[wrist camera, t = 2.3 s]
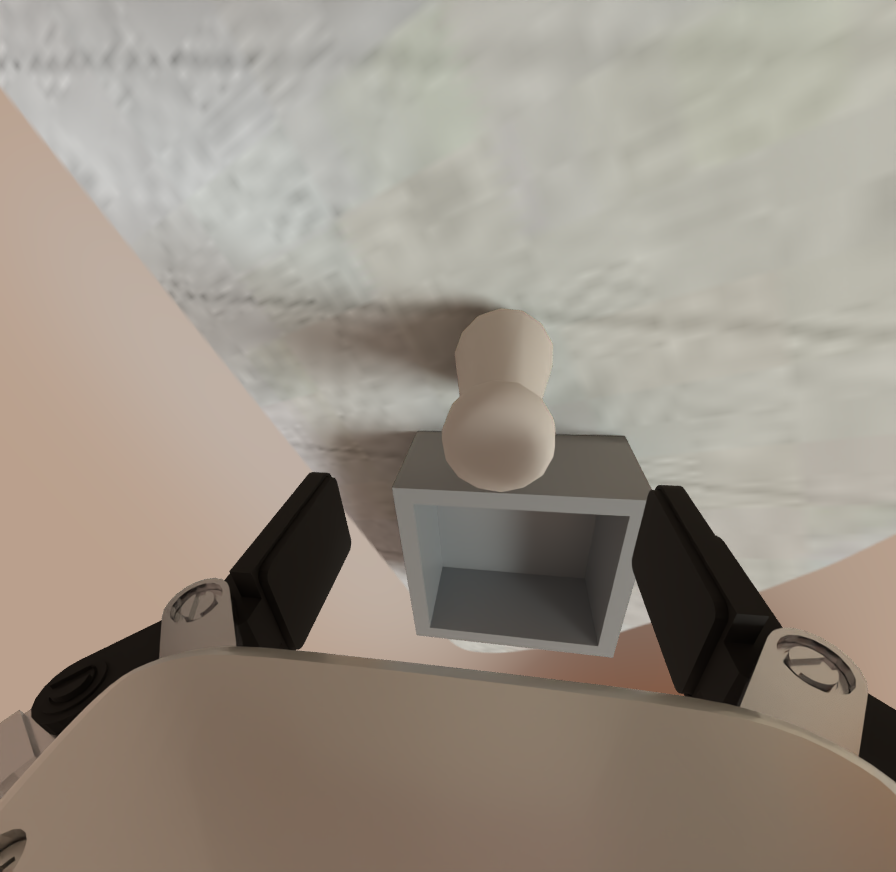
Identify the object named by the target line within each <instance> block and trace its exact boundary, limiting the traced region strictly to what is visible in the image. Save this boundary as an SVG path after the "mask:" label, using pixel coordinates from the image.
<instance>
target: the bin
mask: <svg viewBox="0 0 896 872" xmlns="http://www.w3.org/2000/svg"><path fill="white" fill-rule="evenodd" d="M650 490H652V489H651V487H650V485H649V483H648V481H647V479H646V477H645V475H644V473H643V471H642V469H641V467H640V465H639V463H638V461H637V459H636V457H635V455H634V453H633V451H632V449H631V447H630V445H629V443H628V441H627V439H626V437H625V436H594V435H555V449H554V455H553V458H552V460H551V462H550V463H549V465H548V467H547V469H546V470H545V472H544V474H543V475H542V476H541V477H539V478H538V479H536V480H535V481H533V482H532V483H530V484H528V485H527V486H525V487H524V488H519V489H514V490H509V491H504V492H497V491H491V490H485V489H480V488H477V487H475V486H473V485H471V484H470V483H468V482H466V481H464V480H463V479H461V478H459V477H458V476H457V475H456V473H455V472H454V471H453V469H452V468H451V466H450V465H449V464H448V462H447V461H446V459H445V453H444V448H443V442H442V432H429V431H417V433H416V435H415V438H414V440H413V442H412V444H411V447H410V449H409V451H408V453H407V455H406V458H405V460H404V462H403V464H402V467H401V469H400V471H399V473H398V475H397V478H396V480H395V482H394V484H393V487H392V491H393V497H394V503H395V509H396V515H397V521H398V527H399V533H400V539H401V545H402V550H403V556H404V562H405V568H406V574H407V580H408V586H409V592H410V598H411V604H412V610H413V615H414V622H415V627H416V634H417V635H420V636H429V637H438V638H446V639H455V640H464V641H473V642H481V643H490V644H499V645H507V646H516V647H525V648H534V649H543V650H551V651H560V652H569V653H578V654H586V655H595V656H604V657H613V655H614V652H615V648H616V645H617V641H618V638H619V634H620V631H621V627H622V624H623V620H624V617H625V613H626V610H627V606H628V603H629V599H630V596H631V592H632V589H633V585H634V582H635V576H634V573H633V570H632V556H633V552H634V548H635V544H636V540H637V536H638V532H639V528H640V524H641V520H642V516H643V512H644V508H645V504H646V500H647V496H648V493H649V491H650Z"/></svg>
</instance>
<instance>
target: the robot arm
mask: <svg viewBox="0 0 896 872" xmlns="http://www.w3.org/2000/svg"><path fill="white" fill-rule="evenodd" d="M350 548H351V538H350V534H349V530H348V526H347V521H346V517H345V513H344V509H343V505H342V501H341V497H340V492H339V488H338V484H337V481H336V479H335V478H332V476H331V475H330V474H329V473H319V472H311V473H309V474H308V475H307V477H306V478H305V479H304V480H303V482H302V483H301V484H300V485H299V486H298V488H297V489H296V490H295V491H294V493H293V494H292V495H291V496H290V497H289V499H288V500H287V501H286V502H285V504H284V505H283V506H282V507H281V509H280V510H279V511H278V512H277V513H276V515H275V516H274V517H273V518H272V520H271V521H270V522H269V523H268V525H267V526H266V527H265V528H264V529H263V531H262V532H261V533H260V535H259V536H258V537H257V538H256V539H255V541H254V542H253V543H252V544H251V546H250V547H249V548H248V549H247V550H246V552H245V553H244V554H243V556H242V557H241V558H240V559H239V560H238V562H237V563H236V564H235V565H234V566H233V568H232V569H231V570H230V574H229V575H228V577H227V578H226V579H225V580H222V579H217V578H210V579H204V580H201V581H198V582H195V583H193V584H191V585H189V586H187V587H186V588H184V589H183V590H182V591H180V592H179V593H177V594H176V595H175V596H174V597H173V598H172V599H171V600H170V602H169V603H168V604H167V606H166V607H165V609H164V612H163V615H162V620H161V621H159V622H157V623H155V624H153V625H151V626H149V627H147V628H145V629H143V630H141V631H139V632H137V633H135V634H132V635H130V636H128V637H126V638H124V639H122V640H120V641H118V642H116V643H114V644H112V645H110V646H108V647H106V648H104V649H102V650H100V651H98V652H96V653H93V654H91V655H89V656H87V657H85V658H83V659H81V660H79V661H77V662H76V663H74V664H72V665H70V666H69V667H67V668H66V669H64V670H63V671H62V672H60V673H59V674H58V675H56V676H55V677H54V678H53V679H52V680H51V681H50V682H49V683H48V684H47V685H46V686H45V687H44V688H43V689H42V691H41V692H40V693H39V695H38V696H37V697H36V699H35V701H34V704H33V706H32V708H31V709H30V710H29V711H28V712H26V713H25V714H24V713H23V712H21V711H20V710H19V711H17V712H15V713H14V714H12V715H11V716H10V717H8V718H7V719H5V720H4V721H2V722H1V723H0V872H896V710H895V709H893V708H891V707H889V706H888V705H886V704H885V703H883V702H882V701H880V700H878V699H876V698H875V697H873V696H871V695H870V694H868V688H867V681H866V680H865V678H864V676H863V674H862V672H861V670H860V669H859V668H858V667H857V666H856V665H855V664H854V662H853V661H852V660H851V659H850V658H849V657H848V656H847V655H845V654H844V653H843V652H842V651H841V650H839V649H838V648H837V647H836V646H834V645H832V644H831V643H829V642H827V641H826V640H824V639H822V638H821V637H818V636H816V635H814V634H811V633H809V632H806V631H802V630H798V629H794V628H783V627H782V626H781V624H780V623H779V622H778V620H777V619H776V617H775V616H774V614H773V613H772V612H771V610H770V608H769V607H768V605H767V604H766V603H765V601H764V600H763V598H762V597H761V595H760V594H759V592H758V591H757V589H756V588H755V586H754V585H753V583H752V582H751V581H750V579H749V578H748V576H747V575H746V573H745V572H744V570H743V569H742V567H741V566H740V564H739V563H738V562H737V560H736V559H735V557H734V556H733V554H732V553H731V551H730V550H729V548H728V547H727V545H726V544H725V542H724V541H723V540H722V539H721V538H720V537H718V536H715V534H714V533H713V531H712V530H711V528H710V527H709V525H708V524H707V522H706V521H705V519H704V518H703V516H702V515H701V513H700V512H699V510H698V509H697V507H696V506H695V504H694V503H693V501H692V500H691V498H690V497H689V495H688V494H687V492H686V491H685V489H684V488H683V487H681V486H669V485H658V486H657V487H656V489H655V490H650V491H649V493H648V496H647V500H646V504H645V508H644V512H643V516H642V520H641V524H640V528H639V532H638V536H637V540H636V544H635V548H634V552H633V556H632V570H633V573H634V576H635V579H636V581H637V584H638V587H639V590H640V592H641V595H642V598H643V601H644V604H645V606H646V609H647V612H648V615H649V617H650V620H651V623H652V625H653V628H654V631H655V634H656V637H657V640H658V642H659V645H660V648H661V651H662V654H663V656H664V659H665V662H666V665H667V667H668V670H669V673H670V676H671V678H672V681H673V684H674V686H675V689H676V690H677V692H678V693H682V694H684V696H679V695H671V694H664V693H657V692H650V691H643V690H635V689H628V688H620V687H612V686H604V685H596V684H588V683H579V682H571V681H562V680H555V679H546V678H538V677H530V676H521V675H513V674H504V673H495V672H487V671H478V670H469V669H461V668H453V667H443V666H435V665H426V664H417V663H408V662H400V661H391V660H382V659H381V660H380V659H372V658H362V657H354V656H345V655H335V654H326V653H317V652H306V651H296V649H300V648H301V647H302V646H303V644H304V642H305V641H306V639H307V637H308V634H309V632H310V630H311V628H312V626H313V624H314V622H315V620H316V618H317V616H318V614H319V612H320V610H321V608H322V606H323V604H324V602H325V600H326V598H327V596H328V594H329V592H330V590H331V588H332V586H333V584H334V582H335V580H336V578H337V576H338V573H339V572H340V570H341V567H342V565H343V563H344V561H345V559H346V557H347V555H348V553H349V551H350Z"/></svg>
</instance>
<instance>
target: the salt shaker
mask: <svg viewBox="0 0 896 872" xmlns="http://www.w3.org/2000/svg"><path fill="white" fill-rule="evenodd" d="M455 361H456V369H457V377H458V386H459V394H460V397H459V398H458V399H457V400H456V401H455V402H454V403H453V404H452V406H451V408H450V410H449V413H448V416H447V418H446V421H445V424H444V426H443V429H442V442H443V448H444V453H445V459H446V461H447V462H448V464H449V465H450V466H451V468H452V469H453V471H454V472H455V473H456V475H457V476H458V477H459V478H461V479H463V480H464V481H466V482H468V483H470V484H471V485H473V486H475V487H477V488H480V489H485V490H491V491H497V492H504V491H509V490H514V489H519V488H524V487H525V486H527V485H528V484H530V483H532V482H533V481H535V480H536V479H538V478H539V477H541V476H542V475H543V474H544V472H545V470H546V469H547V467H548V465H549V463H550V462H551V460H552V458H553V455H554V449H555V423H554V419H553V417H552V415H551V413H550V412H549V410H548V408H547V407H546V405H545V403H544V402H543V400H542V399H543V395H544V392H545V389H546V386H547V383H548V379H549V376H550V373H551V370H552V367H553V344H552V342H551V340H550V338H549V336H548V334H547V332H546V331H545V329H544V327H543V325H542V324H541V323H540V322H538V321H537V320H535V319H534V318H533V317H531V316H530V315H528V314H527V313H525V312H524V311H520V310H512V309H503V308H500V309H497V310H494V311H491V312H488V313H485V314H482V315H479V316H477V317H476V318H475V320H474V321H473V322H472V323H471V324H470V325H469V326H468V327H467V328H466V329H465V330H464V331H463V332H462V334H461V337H460V339H459V342H458V345H457V348H456V350H455Z"/></svg>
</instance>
